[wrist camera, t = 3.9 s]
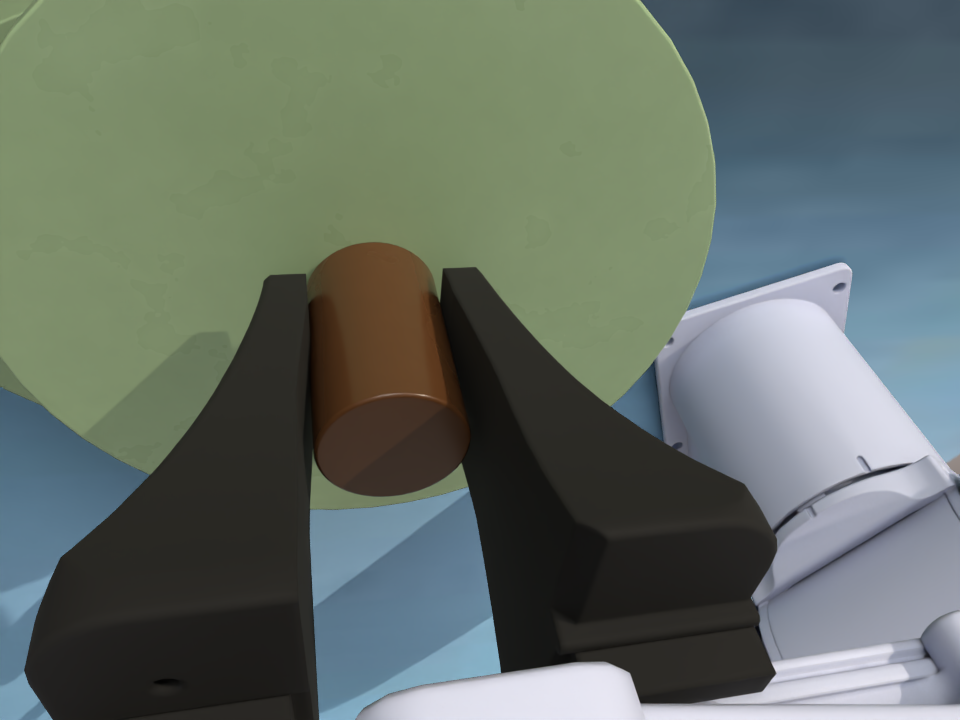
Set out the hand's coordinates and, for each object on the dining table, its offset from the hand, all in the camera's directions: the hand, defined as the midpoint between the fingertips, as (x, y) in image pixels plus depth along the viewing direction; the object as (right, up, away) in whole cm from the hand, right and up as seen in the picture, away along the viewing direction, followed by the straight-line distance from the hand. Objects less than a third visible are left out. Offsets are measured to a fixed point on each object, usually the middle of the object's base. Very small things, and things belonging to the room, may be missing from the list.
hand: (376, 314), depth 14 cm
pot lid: (0, +1, +1) cm, 1 cm away
